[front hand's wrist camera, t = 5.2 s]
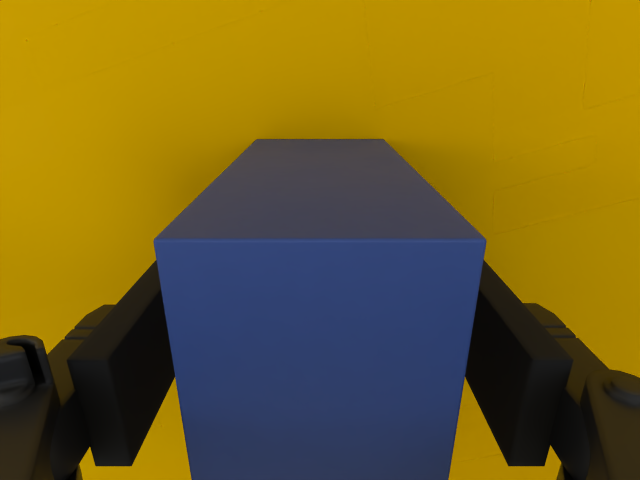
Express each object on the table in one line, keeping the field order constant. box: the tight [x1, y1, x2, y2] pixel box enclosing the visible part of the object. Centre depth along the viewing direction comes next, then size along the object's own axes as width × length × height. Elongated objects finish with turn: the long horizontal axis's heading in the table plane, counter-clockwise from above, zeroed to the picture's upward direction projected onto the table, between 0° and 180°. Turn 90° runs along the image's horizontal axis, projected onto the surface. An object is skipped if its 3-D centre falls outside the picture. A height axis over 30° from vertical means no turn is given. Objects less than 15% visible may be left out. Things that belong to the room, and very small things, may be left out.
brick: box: [154, 139, 486, 480], centre depth 12 cm, size 5×8×10 cm, turn 0°
